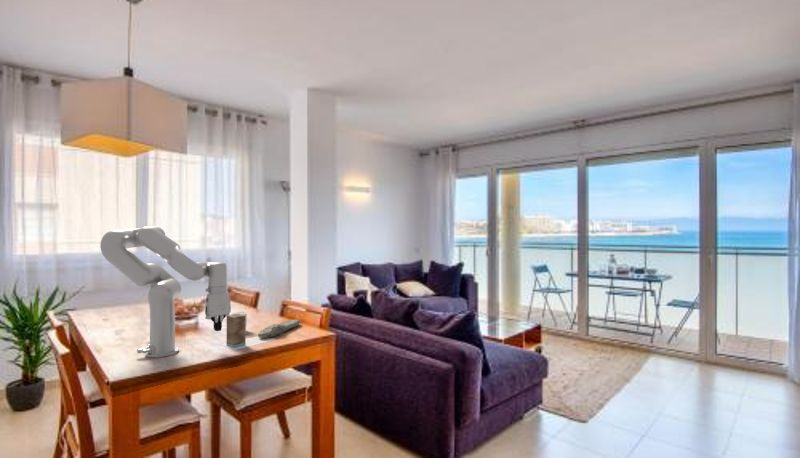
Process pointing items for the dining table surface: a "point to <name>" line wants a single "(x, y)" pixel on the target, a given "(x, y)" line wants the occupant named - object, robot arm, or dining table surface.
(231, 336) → the walnut block
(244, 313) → the white cup
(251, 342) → the mat
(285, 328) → the long grey stone
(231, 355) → the dining table surface
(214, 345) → the dining table surface
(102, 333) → the dining table surface
